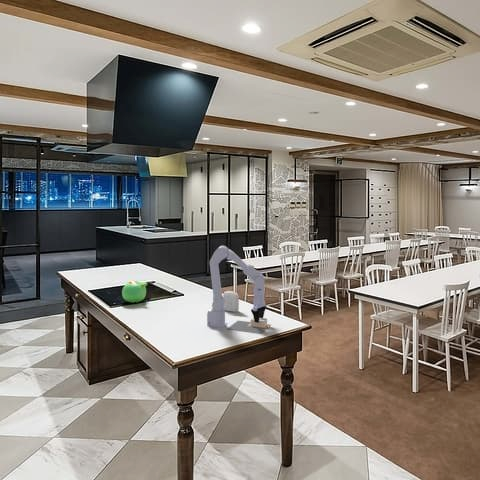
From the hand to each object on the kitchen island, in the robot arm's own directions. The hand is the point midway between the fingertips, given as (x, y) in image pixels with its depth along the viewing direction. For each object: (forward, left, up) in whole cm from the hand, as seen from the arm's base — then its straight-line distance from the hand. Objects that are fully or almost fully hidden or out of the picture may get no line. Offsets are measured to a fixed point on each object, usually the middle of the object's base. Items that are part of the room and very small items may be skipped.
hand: (258, 320), depth 220 cm
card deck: (0, 0, -3) cm, 3 cm away
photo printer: (-26, +22, -3) cm, 35 cm away
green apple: (-94, +18, -3) cm, 96 cm away
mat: (-4, -4, -3) cm, 7 cm away
